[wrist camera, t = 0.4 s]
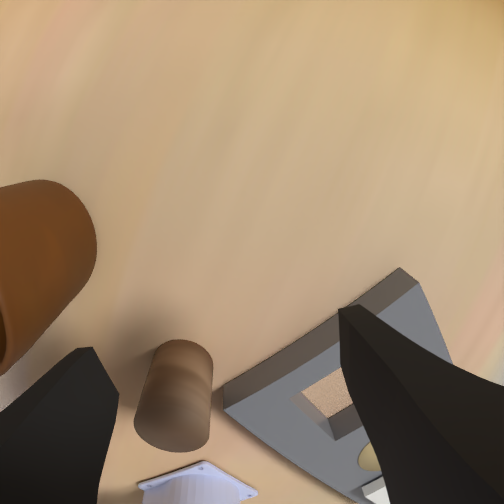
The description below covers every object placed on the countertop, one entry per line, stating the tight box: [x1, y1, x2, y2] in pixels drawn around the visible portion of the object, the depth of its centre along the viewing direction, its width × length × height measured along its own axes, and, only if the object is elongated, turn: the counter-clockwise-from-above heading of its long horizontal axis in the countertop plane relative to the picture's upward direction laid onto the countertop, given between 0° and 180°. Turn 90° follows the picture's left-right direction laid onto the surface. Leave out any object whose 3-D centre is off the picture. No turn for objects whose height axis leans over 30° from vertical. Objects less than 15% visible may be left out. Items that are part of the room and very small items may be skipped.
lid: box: [362, 477, 390, 504], centre depth 22 cm, size 10×9×2 cm
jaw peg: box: [134, 340, 213, 453], centre depth 17 cm, size 4×4×6 cm
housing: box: [223, 268, 453, 504], centre depth 22 cm, size 14×26×3 cm, turn 36°
